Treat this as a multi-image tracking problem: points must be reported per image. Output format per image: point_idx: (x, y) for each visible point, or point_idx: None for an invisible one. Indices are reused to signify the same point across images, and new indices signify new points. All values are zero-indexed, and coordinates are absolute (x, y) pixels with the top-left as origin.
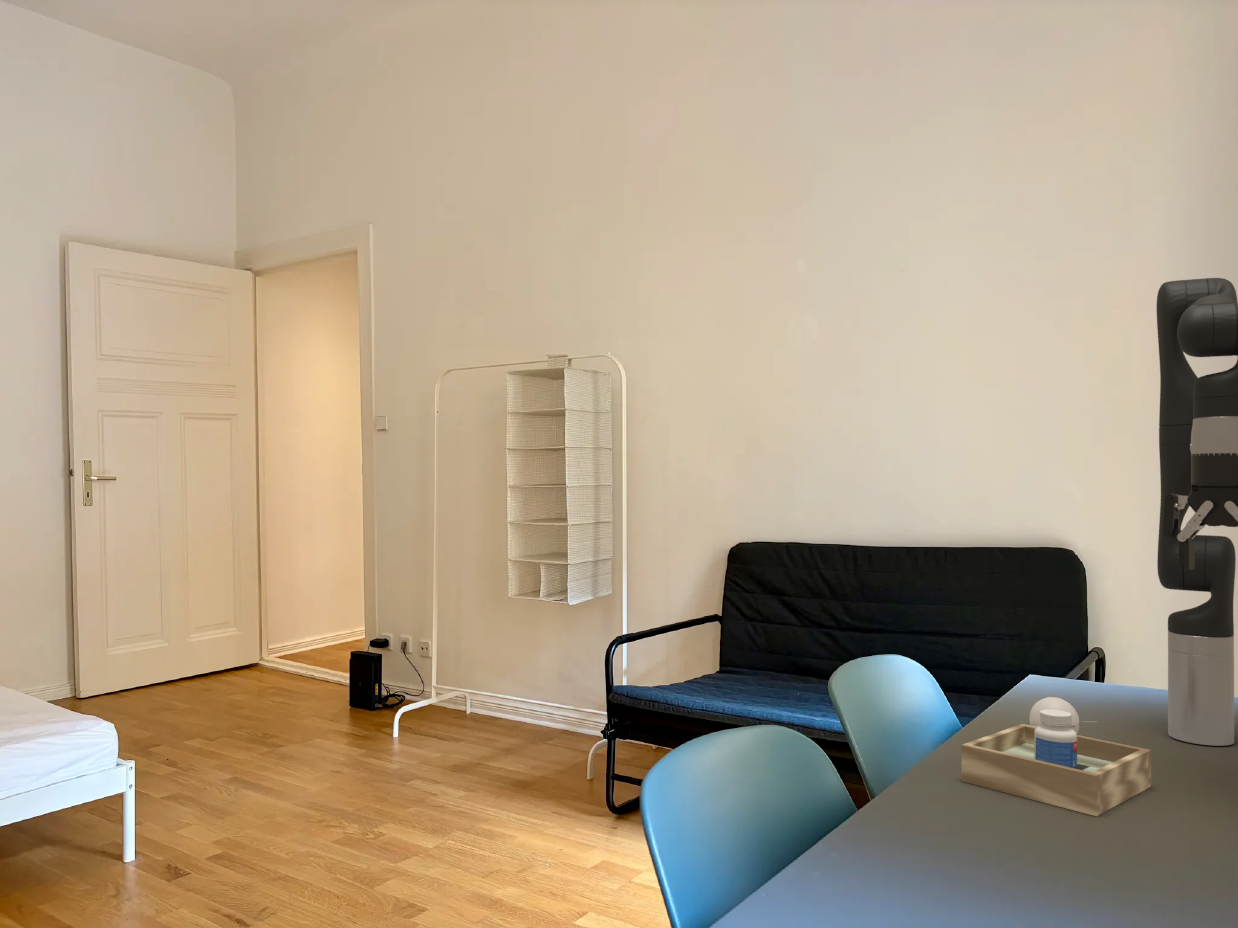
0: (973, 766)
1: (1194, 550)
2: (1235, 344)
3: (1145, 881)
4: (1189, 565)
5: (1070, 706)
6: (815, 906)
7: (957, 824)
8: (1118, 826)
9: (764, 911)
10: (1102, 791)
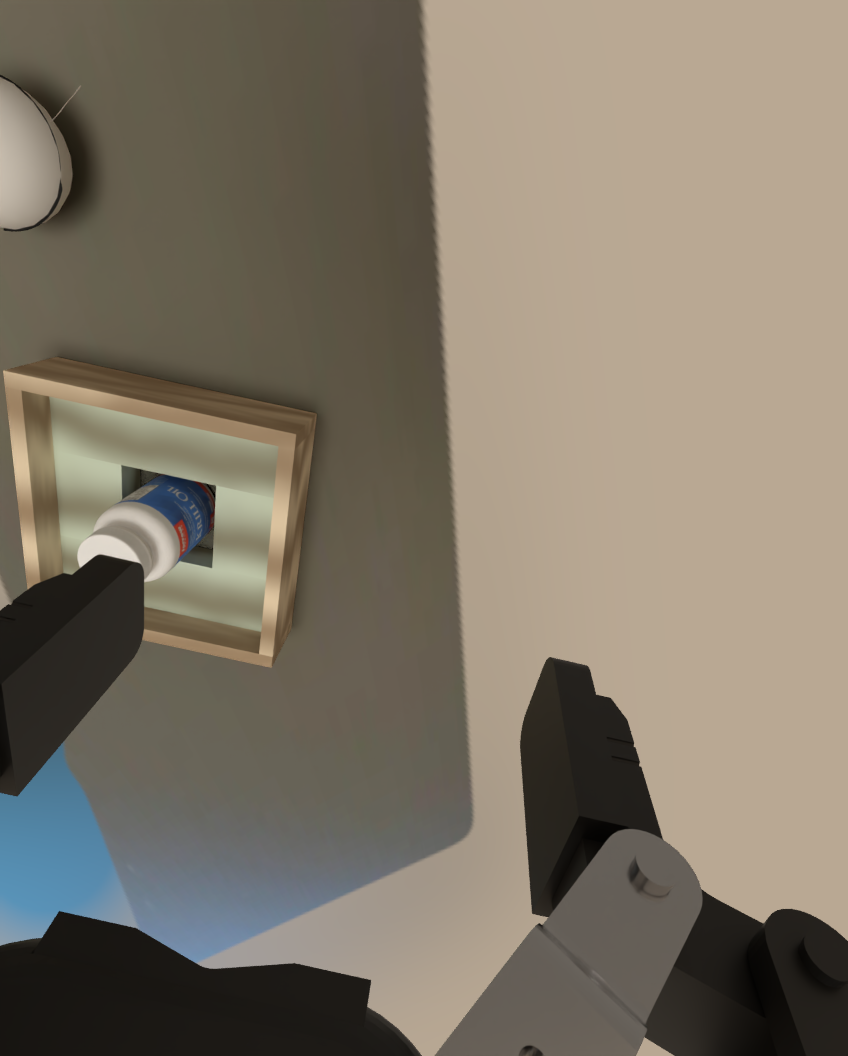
0: None
1: (55, 634)
2: None
3: (394, 795)
4: (127, 654)
5: (2, 151)
6: (189, 947)
7: (171, 745)
8: (327, 651)
9: None
10: (283, 629)
